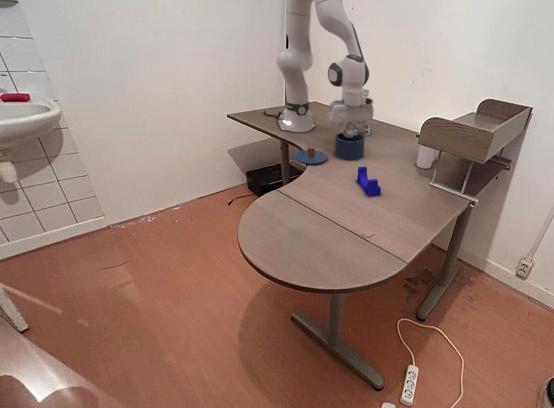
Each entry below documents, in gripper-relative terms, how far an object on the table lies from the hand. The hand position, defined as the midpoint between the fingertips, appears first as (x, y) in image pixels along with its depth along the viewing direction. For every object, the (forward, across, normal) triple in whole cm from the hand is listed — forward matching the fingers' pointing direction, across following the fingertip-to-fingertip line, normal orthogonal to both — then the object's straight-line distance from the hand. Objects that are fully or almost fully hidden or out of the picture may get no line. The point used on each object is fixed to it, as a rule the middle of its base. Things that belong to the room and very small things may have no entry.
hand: (350, 131), depth 130 cm
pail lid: (+10, -18, +2) cm, 21 cm away
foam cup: (+11, +32, -18) cm, 38 cm away
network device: (+11, +25, +29) cm, 40 cm away
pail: (+11, 0, 0) cm, 11 cm away
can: (+11, +25, -23) cm, 36 cm away
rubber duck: (+3, 0, 0) cm, 3 cm away
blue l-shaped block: (+11, -9, -30) cm, 34 cm away
